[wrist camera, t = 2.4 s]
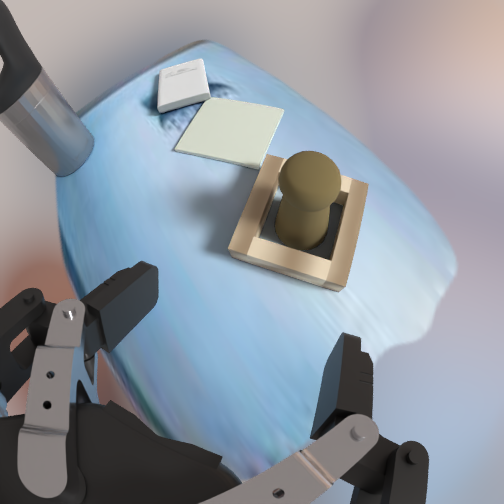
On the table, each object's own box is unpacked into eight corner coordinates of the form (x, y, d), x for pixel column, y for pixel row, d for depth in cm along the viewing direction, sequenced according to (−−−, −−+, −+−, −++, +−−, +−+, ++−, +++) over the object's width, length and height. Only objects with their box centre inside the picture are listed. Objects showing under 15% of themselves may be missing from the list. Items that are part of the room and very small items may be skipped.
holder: (232, 257, 31) (227, 248, 28) (267, 168, 34) (266, 154, 31) (338, 292, 29) (345, 286, 26) (361, 196, 32) (368, 184, 29)
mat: (175, 151, 36) (174, 149, 36) (209, 99, 39) (208, 96, 38) (258, 169, 34) (258, 167, 33) (284, 112, 37) (283, 109, 36)
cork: (266, 239, 31) (261, 188, 21) (285, 194, 33) (287, 131, 22) (318, 258, 30) (339, 214, 20) (334, 211, 32) (356, 153, 21)
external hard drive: (160, 114, 38) (161, 76, 43) (211, 99, 38) (204, 64, 43) (156, 106, 37) (158, 69, 41) (209, 91, 37) (202, 57, 41)
